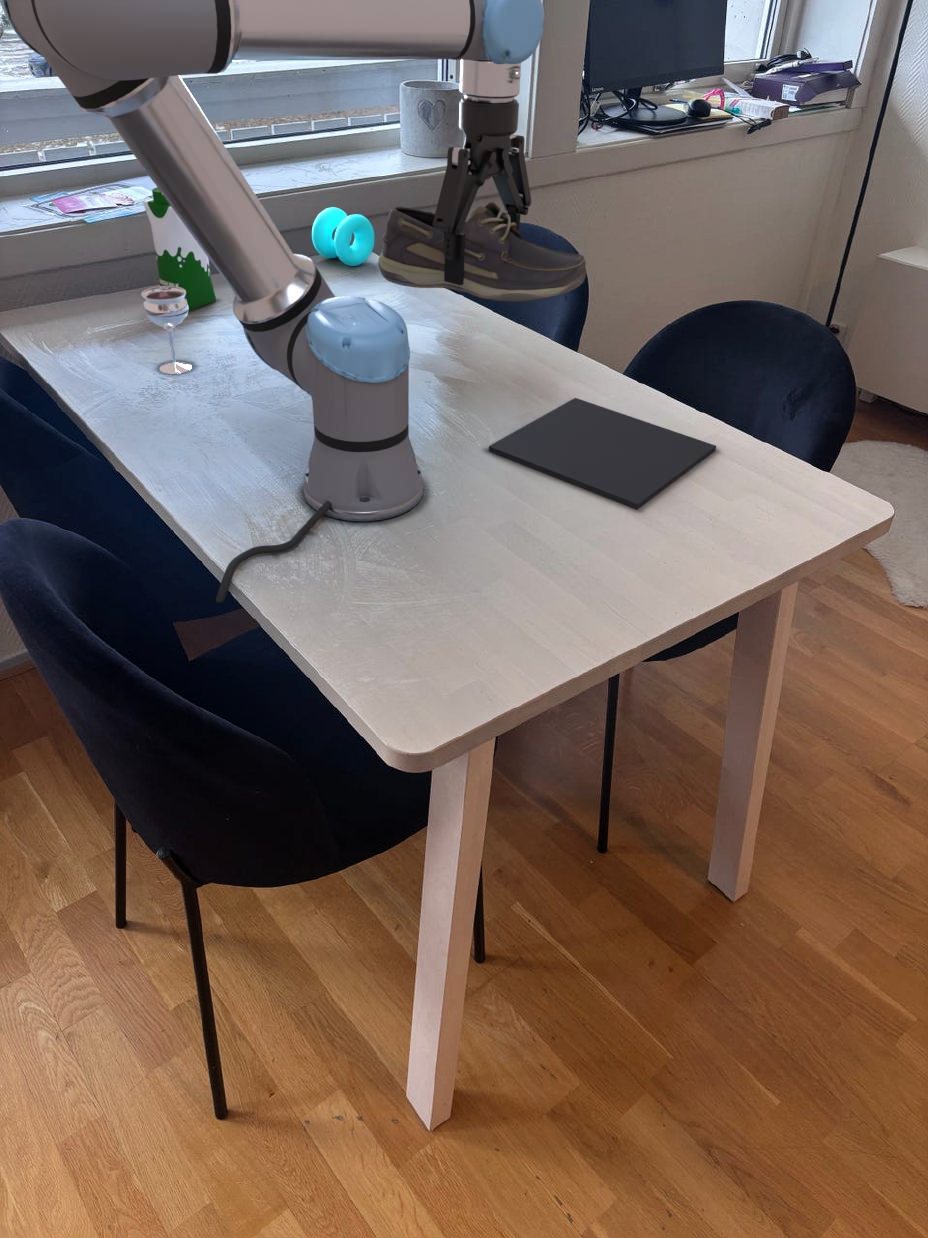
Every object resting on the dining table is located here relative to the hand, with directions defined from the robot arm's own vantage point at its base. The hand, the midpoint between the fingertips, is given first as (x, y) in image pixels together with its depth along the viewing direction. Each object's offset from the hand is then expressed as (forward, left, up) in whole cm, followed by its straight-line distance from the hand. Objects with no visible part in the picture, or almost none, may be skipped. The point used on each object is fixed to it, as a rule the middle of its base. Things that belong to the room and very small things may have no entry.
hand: (481, 272), depth 133 cm
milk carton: (0, +68, -20) cm, 71 cm away
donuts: (+38, +65, -20) cm, 78 cm away
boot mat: (+1, -22, -20) cm, 30 cm away
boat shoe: (0, 0, -2) cm, 2 cm away
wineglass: (-21, +45, -20) cm, 54 cm away
